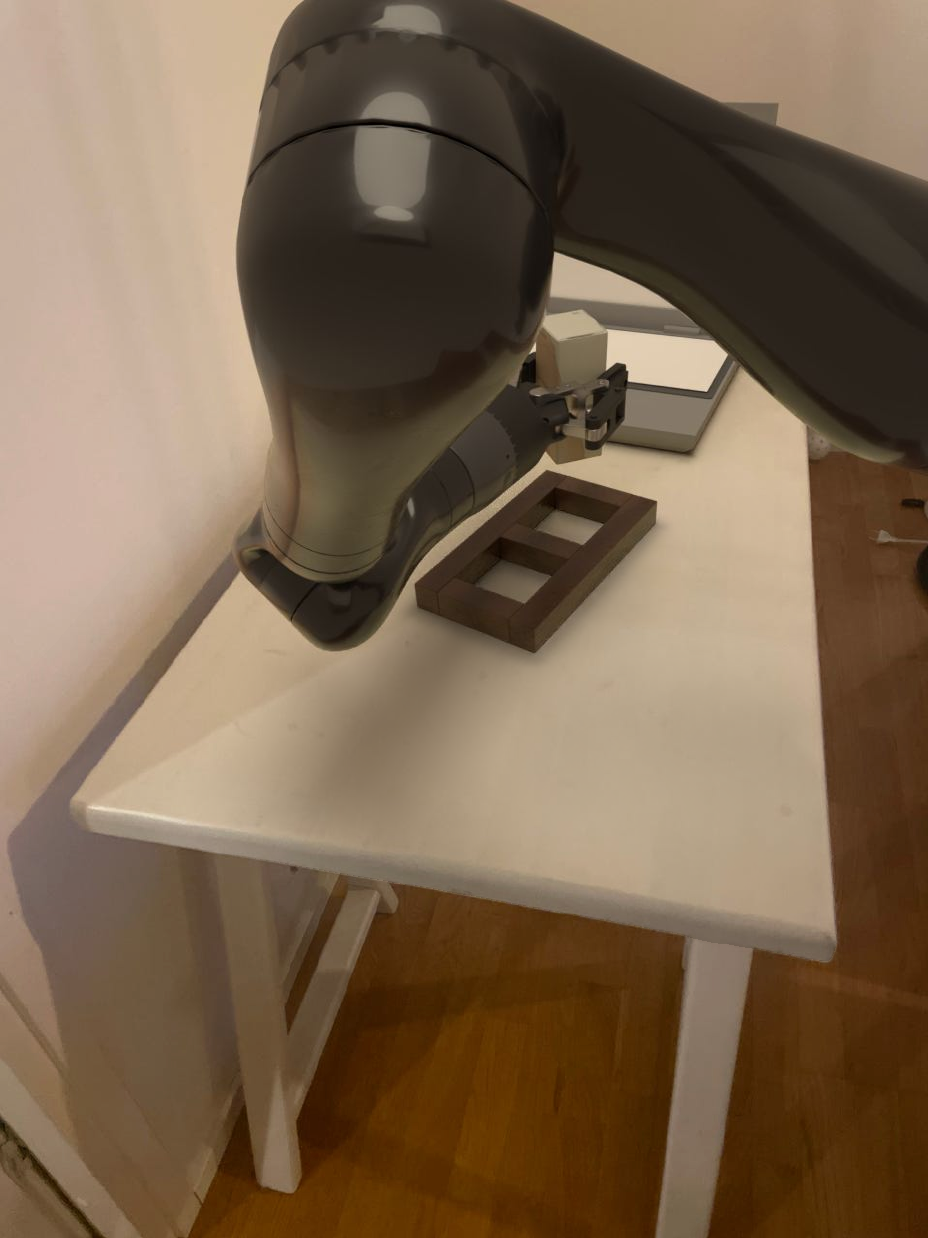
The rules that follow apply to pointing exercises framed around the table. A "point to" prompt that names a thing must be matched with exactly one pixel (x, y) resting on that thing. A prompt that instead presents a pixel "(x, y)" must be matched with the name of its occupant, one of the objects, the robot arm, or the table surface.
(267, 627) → the table surface
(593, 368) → the box
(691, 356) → the laptop
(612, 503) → the socket pad
